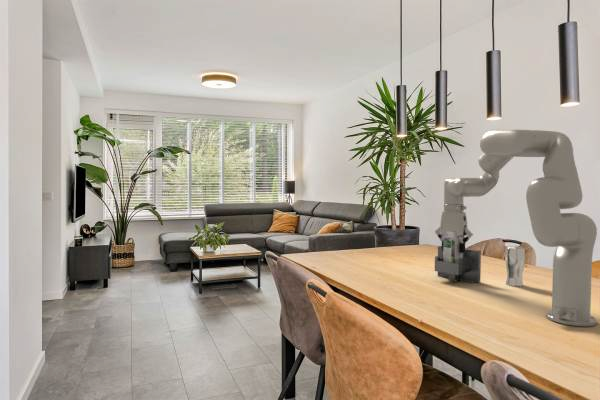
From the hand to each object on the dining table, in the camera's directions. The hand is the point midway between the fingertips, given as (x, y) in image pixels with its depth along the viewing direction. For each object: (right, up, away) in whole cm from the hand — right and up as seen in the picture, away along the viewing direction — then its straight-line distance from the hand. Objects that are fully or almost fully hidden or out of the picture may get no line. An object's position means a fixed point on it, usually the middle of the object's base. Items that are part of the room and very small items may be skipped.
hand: (453, 251), depth 171 cm
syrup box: (0, -6, 0) cm, 6 cm away
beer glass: (+22, -13, -6) cm, 26 cm away
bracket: (0, -12, +1) cm, 12 cm away
